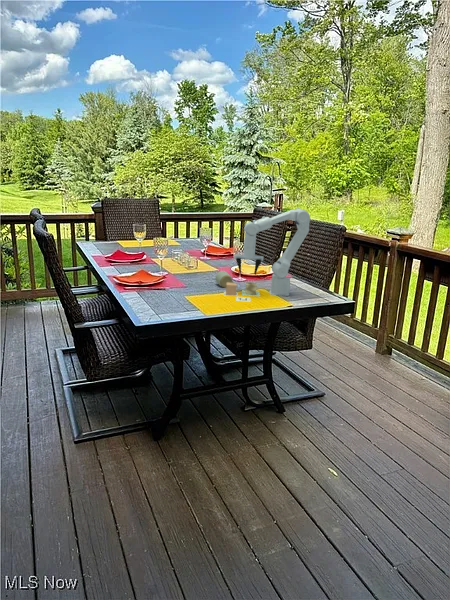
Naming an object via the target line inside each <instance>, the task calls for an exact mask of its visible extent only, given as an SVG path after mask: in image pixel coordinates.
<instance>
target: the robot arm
mask: <svg viewBox="0 0 450 600" xmlns="http://www.w3.org/2000/svg"><path fill="white" fill-rule="evenodd" d="M284 221H293V222H295V225H296V227H297V229H296V232H295V233H294V235H293V236H292V238H291V240H290V242H289V243H288V246H287V247H286V248H285V249H284V252H283V254H282V256H280V257H279V258H278V259H277V261H276V262H274V263H273V264H272V266H271V271H272V273H273V274H271V275H272V276H271V285H270V286H271V287H270V289H269V291H268V292H269V294H270V295H271V296H275V295H276V296H282V297H285V296H286V297H289V296H290V291H291V290H290V288H291V277H287V276H288V275H289V269H290V267H291V261H292V260H293V258H294V257H295V256H296V254H297V252H298V250H299V248H300V247H301V246H302V244H303V242H304V240H305V239H306V237H307V236H308V234H309V232H310V221H311V216H310V213H309V212H308V211H307V210H305V209H302V208H295V209H290V210H287V211H286V212H282V213H280V214H278V215H275V216H272V217H269V216H262V218H259V219H254V220H252V222H251V221H248V222H246V223H245V225H244V227H243V231H245V232H244V239H243V253H242V254H233V255H234V256H233V260H235V262H236V264H237V266H238V274H239V275H240V274H241V273H242V269H241V268H242V260H249V261H255V262H254V263H255V264H254V273H253V274H254V275H255V276H256V275H257V271H258V269H259V267H260V265H261V264H262V262H264V258H265V257H264V255H256V245H257V244H256V242H257V234H258V233H259V232H262V231H266V230H270V229H271V228H272V226H273V225H275V224H278V223H282V222H284Z"/></svg>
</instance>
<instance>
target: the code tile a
mask: <svg viewBox="0 0 450 600" xmlns="http://www.w3.org/2000/svg"><path fill="white" fill-rule="evenodd" d="M235 301H236V302H246V303H247V302H248V303H251V297H250V296H245V297H244V296H235Z"/></svg>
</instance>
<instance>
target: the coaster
mask: <svg viewBox="0 0 450 600" xmlns="http://www.w3.org/2000/svg"><path fill="white" fill-rule="evenodd" d="M241 296H245V297H251V296H252V297H261V293H260V291H259V290H256V295H248V294H246V289H245V290H244V289H242V290H241Z"/></svg>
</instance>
